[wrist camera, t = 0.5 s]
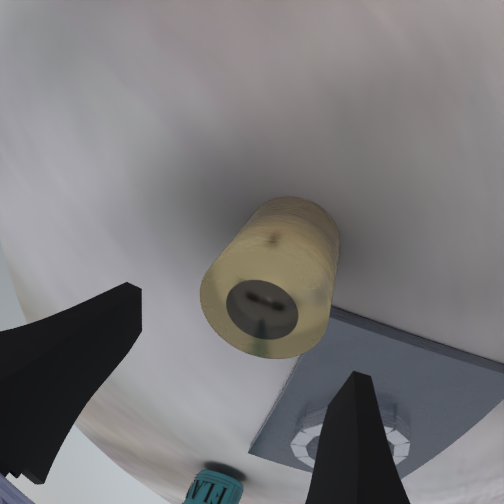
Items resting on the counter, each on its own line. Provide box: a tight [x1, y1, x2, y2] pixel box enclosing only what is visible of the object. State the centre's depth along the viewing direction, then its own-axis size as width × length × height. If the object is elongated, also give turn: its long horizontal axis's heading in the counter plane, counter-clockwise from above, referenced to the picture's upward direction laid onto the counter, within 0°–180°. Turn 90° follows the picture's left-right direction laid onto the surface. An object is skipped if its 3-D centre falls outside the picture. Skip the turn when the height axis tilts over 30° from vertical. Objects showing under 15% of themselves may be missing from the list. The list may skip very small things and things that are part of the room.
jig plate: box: [248, 306, 504, 479], centre depth 21 cm, size 16×20×2 cm
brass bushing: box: [200, 197, 340, 359], centre depth 15 cm, size 5×5×6 cm
